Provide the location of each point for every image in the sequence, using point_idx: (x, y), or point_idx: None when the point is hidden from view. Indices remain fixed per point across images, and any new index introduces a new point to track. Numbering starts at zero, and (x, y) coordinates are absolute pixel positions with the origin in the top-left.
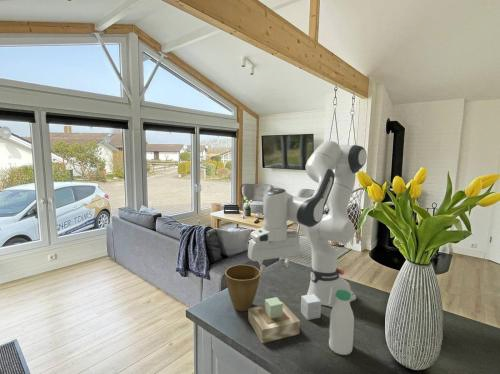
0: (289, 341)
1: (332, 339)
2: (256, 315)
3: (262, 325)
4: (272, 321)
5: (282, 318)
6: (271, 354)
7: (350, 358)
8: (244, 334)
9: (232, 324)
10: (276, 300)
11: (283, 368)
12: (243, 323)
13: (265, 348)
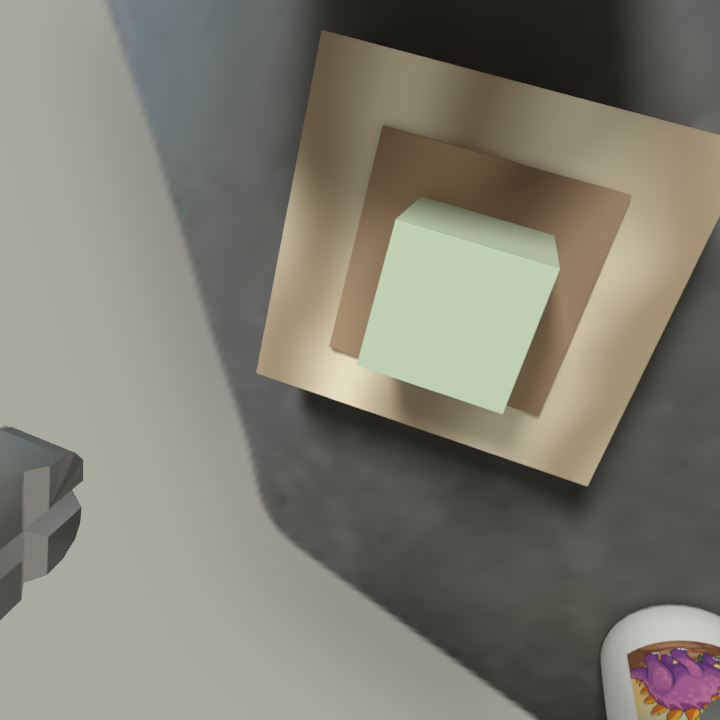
0: None
1: (609, 700)
2: (322, 190)
3: (286, 334)
4: None
5: None
6: (288, 434)
7: None
8: (238, 187)
9: (212, 12)
10: (495, 324)
11: (283, 531)
12: (297, 57)
13: None
